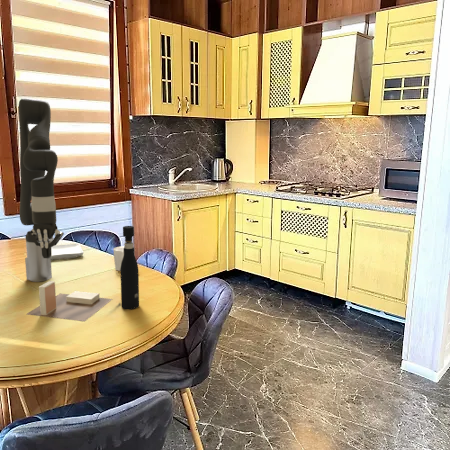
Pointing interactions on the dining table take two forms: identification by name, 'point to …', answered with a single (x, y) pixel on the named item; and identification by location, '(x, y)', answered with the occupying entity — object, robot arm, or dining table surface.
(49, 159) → the robot arm
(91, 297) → the tile teal
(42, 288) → the tile terracotta
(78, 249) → the salad plate
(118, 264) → the white cup
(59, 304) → the board
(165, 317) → the dining table surface
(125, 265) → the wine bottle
